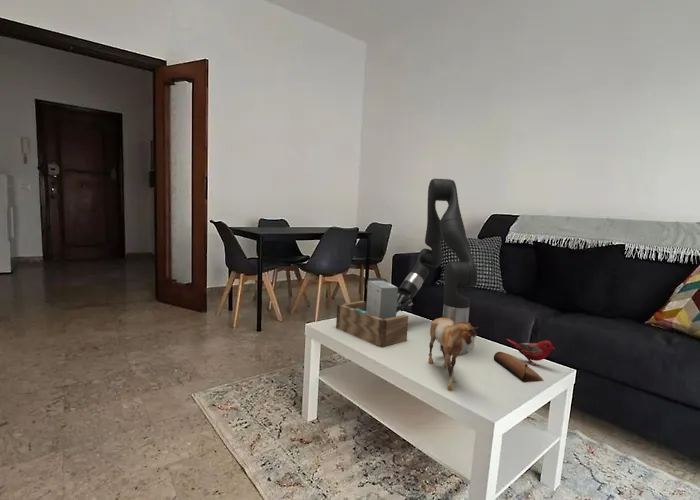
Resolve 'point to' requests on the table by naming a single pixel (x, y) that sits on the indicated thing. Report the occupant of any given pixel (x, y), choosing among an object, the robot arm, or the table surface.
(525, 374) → the sunglasses case
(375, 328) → the wooden box
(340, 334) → the table surface
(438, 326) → the horse figurine
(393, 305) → the hard drive box
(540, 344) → the decorative bird figurine
